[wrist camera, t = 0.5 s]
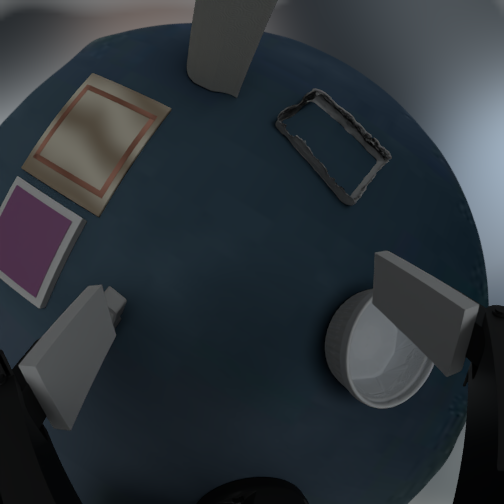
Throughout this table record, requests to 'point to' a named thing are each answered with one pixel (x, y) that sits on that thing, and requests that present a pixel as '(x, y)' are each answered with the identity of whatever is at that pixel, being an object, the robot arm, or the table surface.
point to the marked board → (95, 141)
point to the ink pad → (35, 241)
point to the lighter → (114, 305)
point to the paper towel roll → (225, 41)
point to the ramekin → (373, 354)
